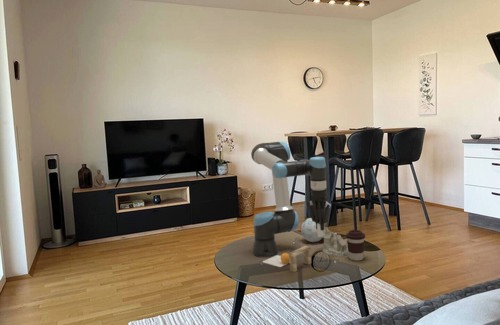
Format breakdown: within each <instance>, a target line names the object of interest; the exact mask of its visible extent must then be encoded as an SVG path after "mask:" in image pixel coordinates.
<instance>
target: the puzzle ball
mask: <svg viewBox="0 0 500 325" xmlns="http://www.w3.org/2000/svg"><path fill="white" fill-rule="evenodd" d="M319 223H320V222H319ZM324 231H326V227H325V226H324V230H323V236H324ZM300 234H301V236H302V238H303V239H304V240H306V241H308V242H310V243H317V242H319V241H321V240H322V239H324V238H323V236H322V237H318V234H317V229H316V223H315V222H313V221H312V218H311V217H310V218H309V217H308V218H307V219H305V220H304V221H303V222H302V224H301V226H300Z"/></svg>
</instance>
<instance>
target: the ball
mask: <svg viewBox="0 0 500 325" xmlns="http://www.w3.org/2000/svg"><path fill="white" fill-rule="evenodd" d="M280 256H281V261H282V262H283V263H285V264H286V265H288V264H290V263H289V262H290V261H289V253H287V252H283V253H282V254H281V255H280ZM287 263H288V264H287Z"/></svg>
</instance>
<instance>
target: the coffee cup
mask: <svg viewBox="0 0 500 325" xmlns="http://www.w3.org/2000/svg"><path fill="white" fill-rule="evenodd" d="M345 238H346V239H347V241H346V245H347V252H348V256H349V260H352V261H355V262H358V261H362V260H364V252H365V238H366V234H365V233H364V232H363V231H362V230H359V229H351V230H349V231H348V232H346V233H345Z"/></svg>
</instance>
